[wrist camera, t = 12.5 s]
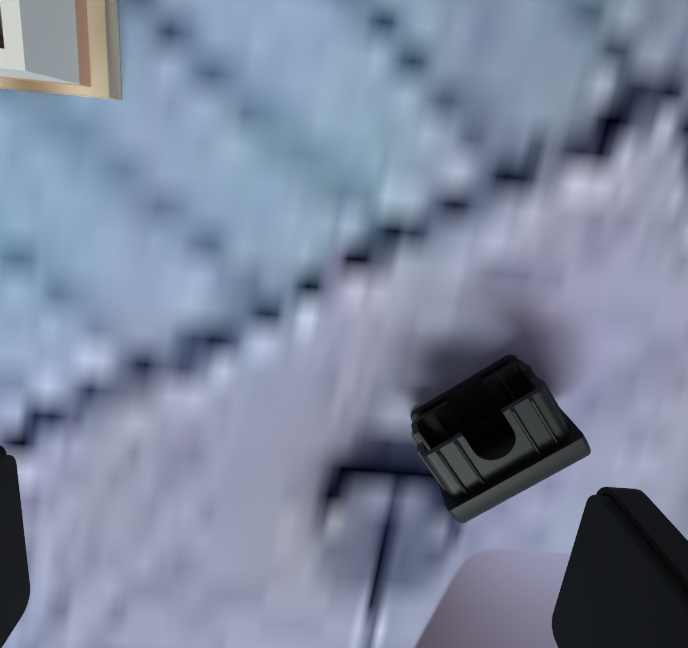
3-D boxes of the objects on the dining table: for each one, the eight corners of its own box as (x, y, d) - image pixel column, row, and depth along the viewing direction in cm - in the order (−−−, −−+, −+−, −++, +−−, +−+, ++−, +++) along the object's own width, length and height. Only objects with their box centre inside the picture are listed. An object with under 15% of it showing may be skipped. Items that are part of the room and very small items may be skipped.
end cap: (448, 482, 42) (470, 543, 36) (401, 416, 40) (416, 468, 33) (560, 418, 40) (605, 470, 34) (518, 347, 38) (557, 388, 32)
